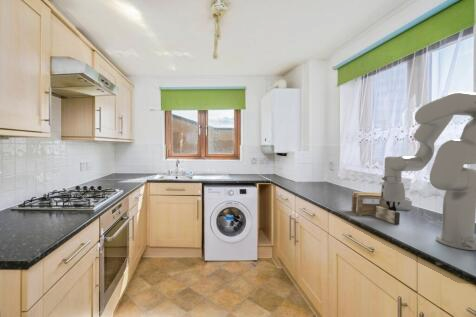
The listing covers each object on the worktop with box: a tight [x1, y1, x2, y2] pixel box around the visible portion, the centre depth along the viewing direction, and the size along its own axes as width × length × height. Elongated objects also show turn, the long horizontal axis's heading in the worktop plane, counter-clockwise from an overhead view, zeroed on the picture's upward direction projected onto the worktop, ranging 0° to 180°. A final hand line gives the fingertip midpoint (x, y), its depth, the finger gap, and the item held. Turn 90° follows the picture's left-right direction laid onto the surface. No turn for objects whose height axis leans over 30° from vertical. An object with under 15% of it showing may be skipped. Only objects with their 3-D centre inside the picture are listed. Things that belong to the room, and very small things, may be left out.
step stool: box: [351, 191, 393, 217], centre depth 134 cm, size 10×18×12 cm, turn 84°
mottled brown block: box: [374, 206, 401, 226], centre depth 122 cm, size 14×2×6 cm, turn 12°
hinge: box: [385, 196, 413, 211], centre depth 147 cm, size 17×5×10 cm, turn 79°
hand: (392, 214), depth 121 cm, fingers closed
